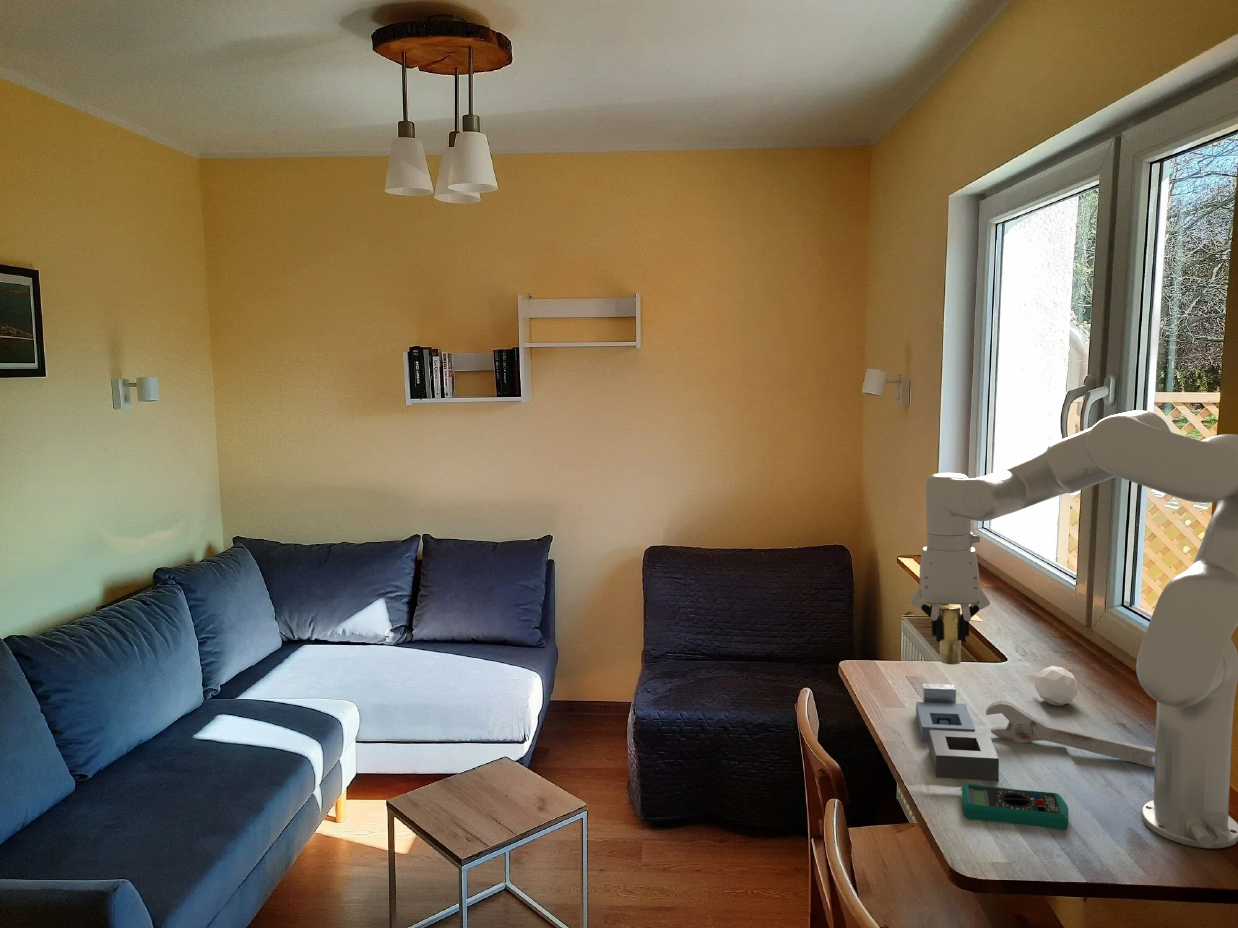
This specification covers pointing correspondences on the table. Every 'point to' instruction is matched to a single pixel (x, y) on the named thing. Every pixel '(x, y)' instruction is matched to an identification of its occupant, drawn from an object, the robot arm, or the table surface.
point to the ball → (1056, 685)
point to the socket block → (932, 711)
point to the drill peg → (950, 635)
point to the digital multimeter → (1014, 806)
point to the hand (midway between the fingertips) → (950, 638)
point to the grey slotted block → (963, 755)
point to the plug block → (939, 696)
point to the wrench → (1064, 735)
